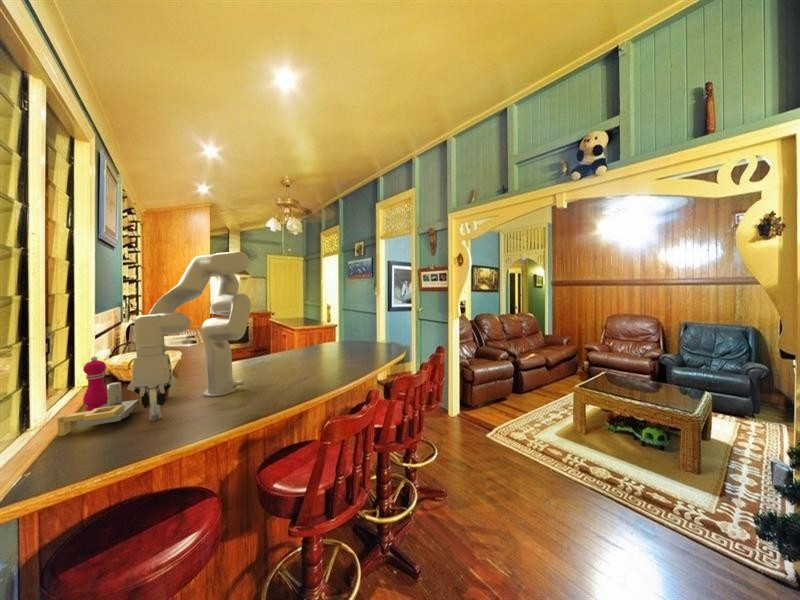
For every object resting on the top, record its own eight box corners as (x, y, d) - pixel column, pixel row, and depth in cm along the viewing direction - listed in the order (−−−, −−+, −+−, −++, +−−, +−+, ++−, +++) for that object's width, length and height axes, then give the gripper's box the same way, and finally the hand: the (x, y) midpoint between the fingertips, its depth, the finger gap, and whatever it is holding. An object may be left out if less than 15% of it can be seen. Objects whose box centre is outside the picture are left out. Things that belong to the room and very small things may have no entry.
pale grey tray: (139, 410, 114) (137, 377, 114) (120, 428, 99) (117, 390, 98) (103, 415, 110) (101, 382, 110) (78, 435, 95) (75, 396, 94)
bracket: (124, 420, 105) (123, 404, 105) (115, 429, 99) (114, 411, 98) (68, 429, 100) (66, 412, 99) (54, 439, 93) (52, 421, 93)
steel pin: (163, 415, 108) (161, 381, 108) (160, 419, 105) (158, 384, 104) (150, 418, 107) (147, 383, 106) (146, 422, 103) (144, 386, 103)
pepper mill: (94, 414, 112) (90, 358, 112) (78, 413, 114) (74, 358, 113) (116, 406, 119) (112, 354, 119) (101, 405, 121) (97, 354, 120)
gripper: (183, 347, 112) (186, 398, 112) (124, 352, 105) (127, 406, 106) (177, 350, 105) (181, 404, 106) (114, 356, 98) (118, 414, 99)
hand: (154, 405), depth 106 cm, fingers open, 3 cm apart
